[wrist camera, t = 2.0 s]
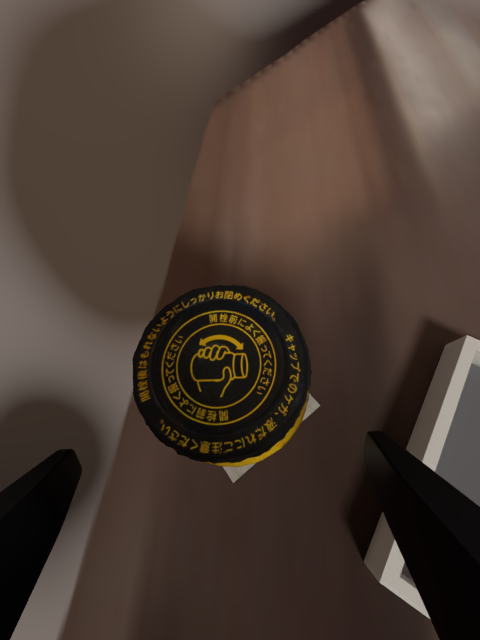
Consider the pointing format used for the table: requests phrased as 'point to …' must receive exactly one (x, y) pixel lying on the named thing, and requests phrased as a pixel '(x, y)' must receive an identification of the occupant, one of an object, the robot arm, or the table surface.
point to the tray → (438, 453)
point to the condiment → (223, 377)
